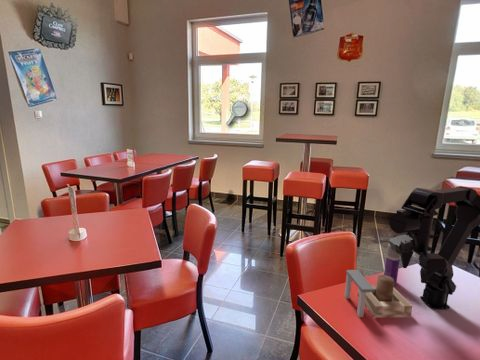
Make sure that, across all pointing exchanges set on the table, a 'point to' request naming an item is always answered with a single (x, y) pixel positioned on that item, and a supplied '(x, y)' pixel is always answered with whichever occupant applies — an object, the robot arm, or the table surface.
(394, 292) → the socket block
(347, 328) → the table surface
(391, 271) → the container
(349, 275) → the grey arch frame
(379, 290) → the peg
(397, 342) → the table surface
